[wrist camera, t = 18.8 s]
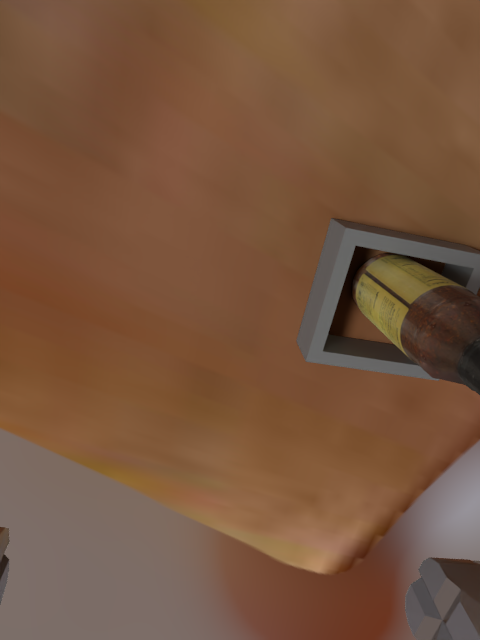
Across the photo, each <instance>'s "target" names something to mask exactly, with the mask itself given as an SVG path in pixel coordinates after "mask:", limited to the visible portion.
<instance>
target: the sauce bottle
mask: <svg viewBox="0 0 480 640" xmlns="http://www.w3.org/2000/svg"><path fill="white" fill-rule="evenodd" d="M352 296H353V299H354V301H355V302H356V304H357V305H358V307H359V309H360V310H361V312H362V313H363V314H364V315H365V316H366V317H367V318H368V319H369V320H370V321H371V322H372V323H373V324H374V325H375V326H376V327H377V328H378V329H379V330H380V331H381V332H382V333H383V334H384V335H385V336H386V337H387V338H388V339H389V340H391V341H392V342H393V343H394V344H395V345H396V346H397V347H398V348H399V349H400V350H401V351H402V352H403V353H404V354H405V355H406V356H407V357H409V358H410V359H411V360H412V361H414V362H415V363H417V364H418V365H419V366H420V367H421V368H422V369H423V370H424V371H425V372H427V373H428V374H429V375H430V376H431V377H432V378H435V379H442V380H447V381H451V382H456V383H460V384H464V385H466V386H468V387H469V388H470V389H471V390H474V391H476V392H477V393H478V394H479V395H480V297H479V296H477V295H475V294H474V293H473V292H472V291H470V290H468V289H467V288H465V287H463V286H461V285H459V284H457V283H455V282H453V281H451V280H449V279H447V278H445V277H444V276H442V275H440V274H438V273H436V272H434V271H432V270H430V269H428V268H426V267H425V266H423V265H421V264H419V263H417V262H415V261H413V260H411V259H410V258H407V257H405V256H402V255H394V254H379V255H377V256H375V257H373V258H371V259H370V260H368V261H367V262H365V263H364V264H363V265H362V266H361V267H360V268H359V269H358V270H357V272H356V274H355V276H354V279H353V285H352Z"/></svg>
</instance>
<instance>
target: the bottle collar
mask: <svg viewBox="0 0 480 640" xmlns="http://www.w3.org/2000/svg"><path fill="white" fill-rule="evenodd" d="M355 246H360V247H366V248H371V249H376V250H381V251H386V252H392V253H397V254H402V255H407V256H412V257H417V258H423V259H428V260H433V261H438V262H443V263H446V264H445V266H444V269H443V271H442V274H441V275H442V276H444V277H445V278H447V279H449V280H451V281H453V282H455V283H457V284H459V285H461V286H463V287H465V288H467V289H468V290H470V291H472V292H473V293H474V294H475V295H477V292H478V290H479V288H480V251H478V250H476V249H473V248H471V247H469V246H466V245H462V244H457V243H452V242H447V241H443V240H438V239H433V238H428V237H423V236H418V235H413V234H408V233H403V232H398V231H393V230H388V229H383V228H378V227H373V226H368V225H363V224H358V223H353V222H348V221H343V220H338V219H333V218H331V221H330V225H329V228H328V232H327V235H326V239H325V242H324V246H323V249H322V253H321V256H320V260H319V264H318V267H317V271H316V274H315V278H314V281H313V285H312V288H311V292H310V295H309V299H308V302H307V306H306V309H305V313H304V316H303V320H302V323H301V327H300V330H299V334H298V337H297V344H298V346H299V348H300V350H301V352H302V354H303V356H304V359H305V361H306V362H313V363H320V364H327V365H334V366H341V367H348V368H355V369H362V370H369V371H376V372H383V373H390V374H396V375H403V376H410V377H417V378H424V379H431V380H438V381H439V379H435V378H432V377H431V376H430V375H429V374H428V373H427V372H425V371H424V370H423V369H422V368H421V367H420V366H419V365H418V364H417V363H415V362H414V361H412V360H411V359H410V358H409V357H407V356H406V355H405V354H404V353H403V352H402V351H401V350H400V349H399V348H398V347H397V346H396V345H393V344H386V343H380V342H374V341H367V340H361V339H354V338H348V337H341V336H335V335H329V334H328V332H329V329H330V326H331V323H332V320H333V317H334V313H335V310H336V307H337V304H338V301H339V297H340V294H341V291H342V288H343V285H344V281H345V278H346V275H347V272H348V269H349V265H350V262H351V259H352V256H353V253H354V249H355Z"/></svg>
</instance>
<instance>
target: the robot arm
mask: <svg viewBox="0 0 480 640" xmlns="http://www.w3.org/2000/svg"><path fill="white" fill-rule="evenodd" d="M8 544H9V528H4V527H0V603H1V601H2V597H3V594H4V590H5V587H6V583H7V578H8V572H9V559H8V558H7V557H6V556H5V555H4V553H5V550H6V548H7V546H8ZM419 572H420V575H421V578H419V579H418V580H416V581H415V582H413V583H412V584H411V585H410V587H409V589H408V592H407V594H406V601H405V611H406V616H407V620H408V624H409V626H410V629H411V631H412V634H413V636H414V637H415V638H416V639H417V640H480V561H471V560H464V559H446V558H445V559H444V558H428V559H426V560H424V561H423V562H422V564H421V566H420V568H419Z"/></svg>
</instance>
